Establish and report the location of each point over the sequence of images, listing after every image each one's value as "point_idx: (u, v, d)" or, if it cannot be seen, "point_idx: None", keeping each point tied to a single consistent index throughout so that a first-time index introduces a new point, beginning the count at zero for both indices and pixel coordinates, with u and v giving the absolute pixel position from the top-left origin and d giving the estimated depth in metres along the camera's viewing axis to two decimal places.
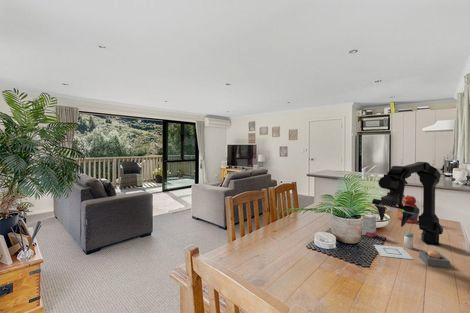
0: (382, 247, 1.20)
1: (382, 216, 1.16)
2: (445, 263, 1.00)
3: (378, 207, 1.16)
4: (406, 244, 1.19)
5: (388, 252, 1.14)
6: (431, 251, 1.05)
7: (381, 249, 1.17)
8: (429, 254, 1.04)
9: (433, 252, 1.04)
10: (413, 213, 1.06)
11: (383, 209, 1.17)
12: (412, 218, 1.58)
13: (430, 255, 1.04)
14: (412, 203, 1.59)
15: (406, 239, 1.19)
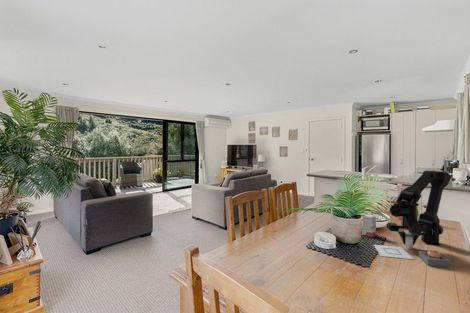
0: (382, 247, 1.20)
1: None
2: (445, 263, 1.00)
3: (403, 233, 1.18)
4: (406, 244, 1.19)
5: (388, 252, 1.14)
6: (431, 251, 1.05)
7: (381, 249, 1.17)
8: (429, 254, 1.04)
9: (433, 252, 1.04)
10: None
11: None
12: None
13: (430, 255, 1.04)
14: None
15: (406, 239, 1.19)
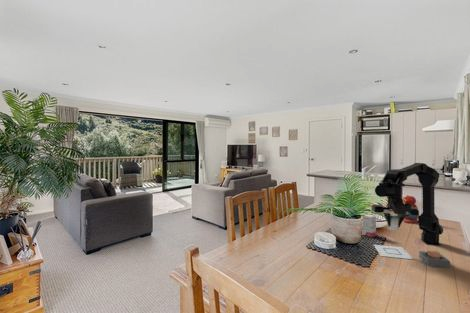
0: (382, 247, 1.20)
1: None
2: (445, 263, 1.00)
3: (388, 215, 1.13)
4: (391, 226, 1.14)
5: (388, 252, 1.14)
6: (431, 251, 1.05)
7: (381, 249, 1.17)
8: (429, 254, 1.04)
9: (433, 252, 1.04)
10: None
11: None
12: (412, 218, 1.58)
13: (430, 255, 1.04)
14: (412, 203, 1.59)
15: (392, 221, 1.14)
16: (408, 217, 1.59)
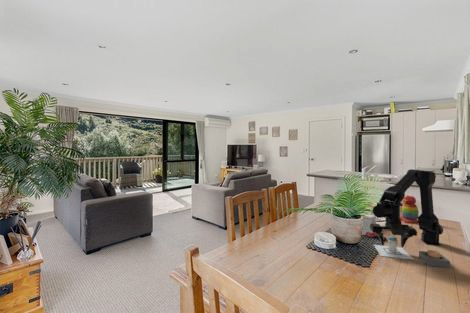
0: (382, 247, 1.20)
1: None
2: (445, 263, 1.00)
3: (381, 234, 1.14)
4: (390, 248, 1.14)
5: (388, 252, 1.14)
6: (431, 251, 1.05)
7: (381, 249, 1.17)
8: (429, 254, 1.04)
9: (433, 252, 1.04)
10: None
11: None
12: (412, 218, 1.58)
13: (430, 255, 1.04)
14: (412, 203, 1.59)
15: (390, 243, 1.14)
16: (408, 217, 1.59)
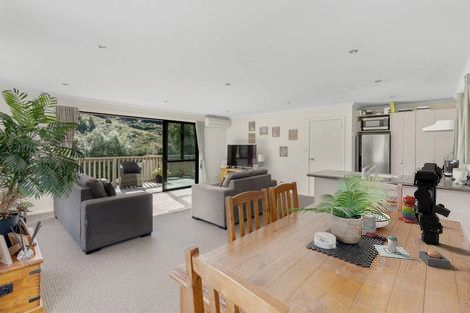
0: (382, 247, 1.20)
1: None
2: (445, 263, 1.00)
3: None
4: (390, 248, 1.14)
5: (388, 252, 1.14)
6: (431, 251, 1.05)
7: (381, 249, 1.17)
8: (429, 254, 1.04)
9: (433, 252, 1.04)
10: (418, 212, 1.13)
11: None
12: (412, 218, 1.58)
13: (430, 255, 1.04)
14: (412, 203, 1.59)
15: (390, 243, 1.14)
16: (408, 217, 1.59)
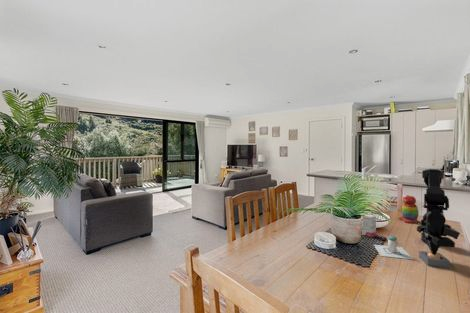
0: (382, 247, 1.20)
1: None
2: (445, 263, 1.00)
3: None
4: (389, 248, 1.14)
5: (388, 252, 1.14)
6: (431, 253, 1.05)
7: (381, 249, 1.17)
8: (429, 256, 1.04)
9: (432, 254, 1.05)
10: None
11: None
12: (412, 218, 1.58)
13: (430, 257, 1.04)
14: (412, 203, 1.59)
15: (389, 243, 1.14)
16: (408, 217, 1.59)
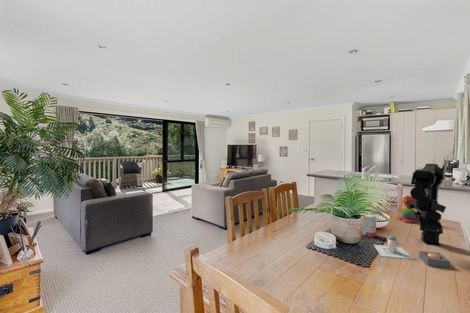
0: (382, 247, 1.20)
1: None
2: (445, 263, 1.00)
3: None
4: (389, 248, 1.15)
5: (388, 252, 1.14)
6: (431, 254, 1.05)
7: (381, 249, 1.17)
8: None
9: (432, 254, 1.05)
10: None
11: None
12: (412, 218, 1.58)
13: None
14: None
15: (389, 242, 1.15)
16: (408, 217, 1.59)
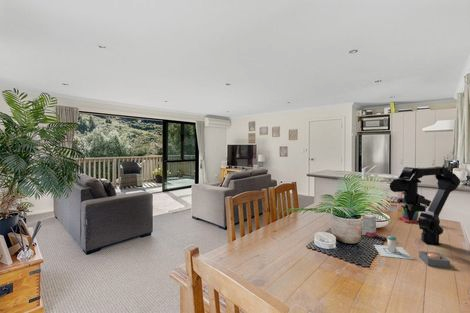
0: (382, 247, 1.20)
1: None
2: (445, 263, 1.00)
3: None
4: (389, 248, 1.15)
5: (388, 252, 1.14)
6: (431, 254, 1.05)
7: (381, 249, 1.17)
8: None
9: (432, 254, 1.05)
10: None
11: None
12: (412, 218, 1.58)
13: None
14: None
15: (389, 242, 1.15)
16: None
